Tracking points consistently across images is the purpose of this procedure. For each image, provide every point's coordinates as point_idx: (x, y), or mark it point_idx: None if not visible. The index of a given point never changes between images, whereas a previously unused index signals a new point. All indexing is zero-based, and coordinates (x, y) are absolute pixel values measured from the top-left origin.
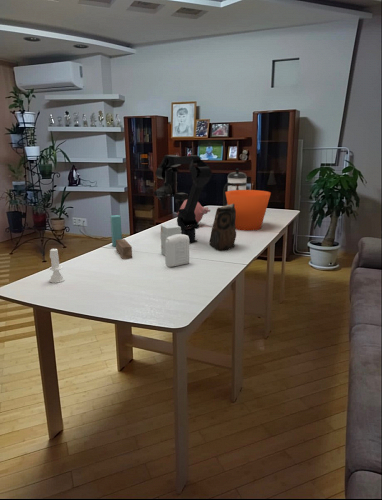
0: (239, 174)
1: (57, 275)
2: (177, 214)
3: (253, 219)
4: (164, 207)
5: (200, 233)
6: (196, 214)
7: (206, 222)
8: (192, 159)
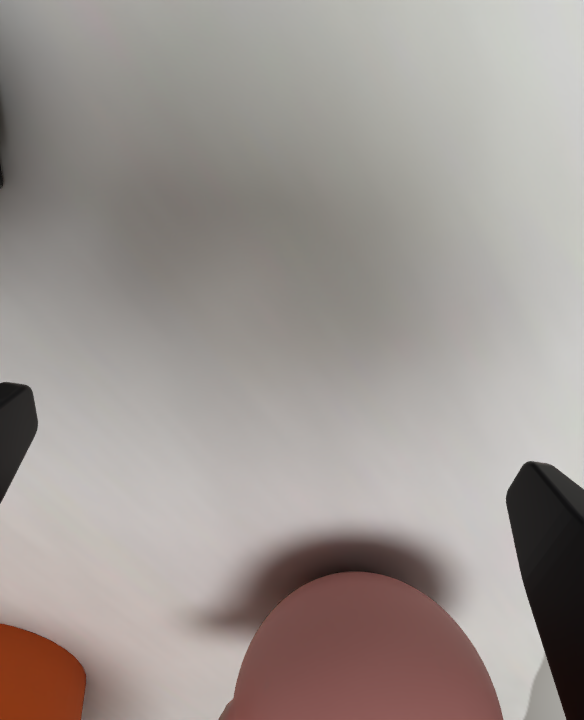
0: None
1: None
2: (457, 653)
3: None
4: (545, 543)
5: (102, 449)
6: (246, 688)
7: None
8: None
